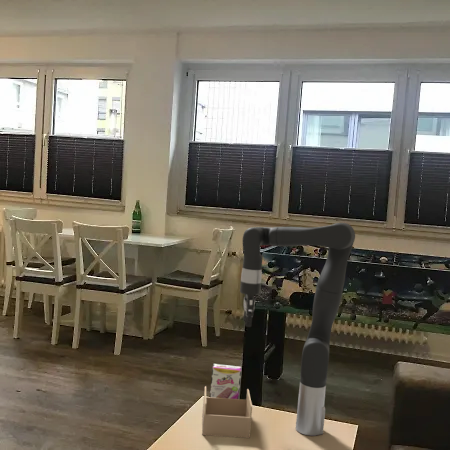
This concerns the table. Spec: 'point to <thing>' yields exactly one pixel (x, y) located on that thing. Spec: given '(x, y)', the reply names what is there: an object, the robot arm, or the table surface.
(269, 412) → the table surface
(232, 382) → the candy bar box
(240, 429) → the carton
